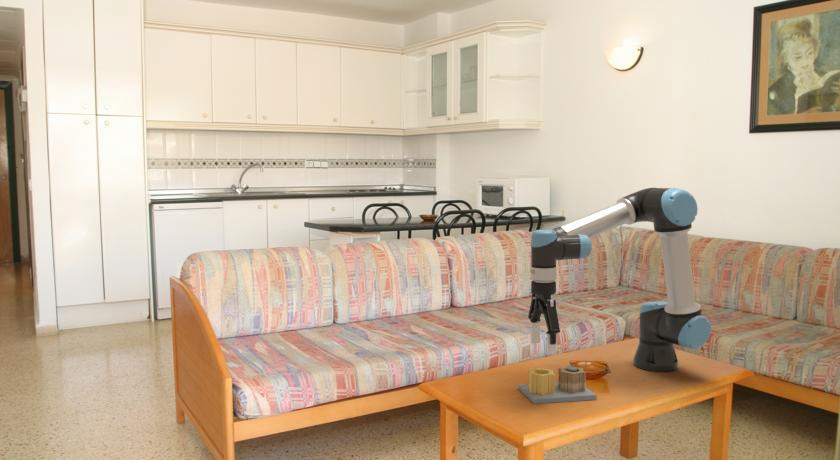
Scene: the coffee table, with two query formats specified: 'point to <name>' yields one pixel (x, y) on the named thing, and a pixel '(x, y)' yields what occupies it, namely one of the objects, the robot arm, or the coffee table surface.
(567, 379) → the gear
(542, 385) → the ochre gear
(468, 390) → the coffee table surface
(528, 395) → the gear board
